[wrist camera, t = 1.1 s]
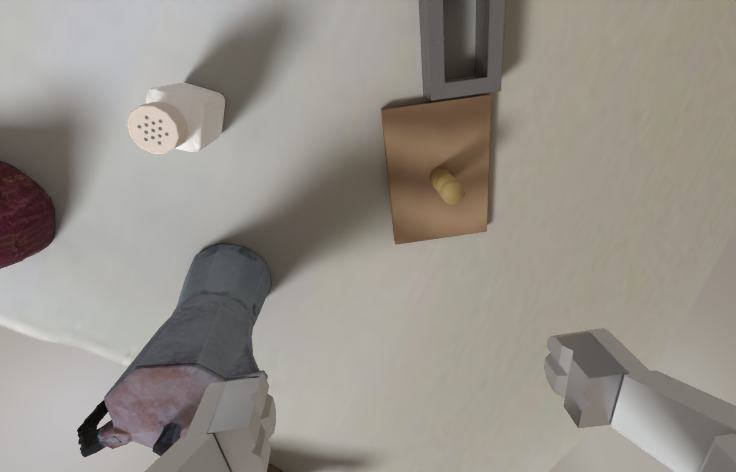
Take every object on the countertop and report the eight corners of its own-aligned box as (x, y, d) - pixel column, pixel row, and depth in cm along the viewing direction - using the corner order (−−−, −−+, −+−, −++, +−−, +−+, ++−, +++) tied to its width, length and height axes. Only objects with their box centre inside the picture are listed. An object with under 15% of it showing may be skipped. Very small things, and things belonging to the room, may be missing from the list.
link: (417, -22, 28) (426, -30, 26) (491, -32, 28) (507, -42, 26) (423, 96, 33) (431, 100, 30) (487, 87, 33) (500, 90, 30)
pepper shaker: (177, 125, 32) (119, 151, 24) (180, 79, 30) (120, 89, 22) (222, 138, 33) (183, 167, 24) (228, 94, 31) (187, 108, 23)
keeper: (381, 108, 33) (389, 119, 27) (487, 93, 33) (516, 101, 28) (394, 240, 39) (403, 269, 34) (483, 227, 39) (505, 254, 34)
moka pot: (310, 285, 41) (290, 460, 23) (198, 332, 43) (100, 527, 25) (267, 218, 37) (201, 369, 19) (144, 273, 39) (-19, 458, 21)
